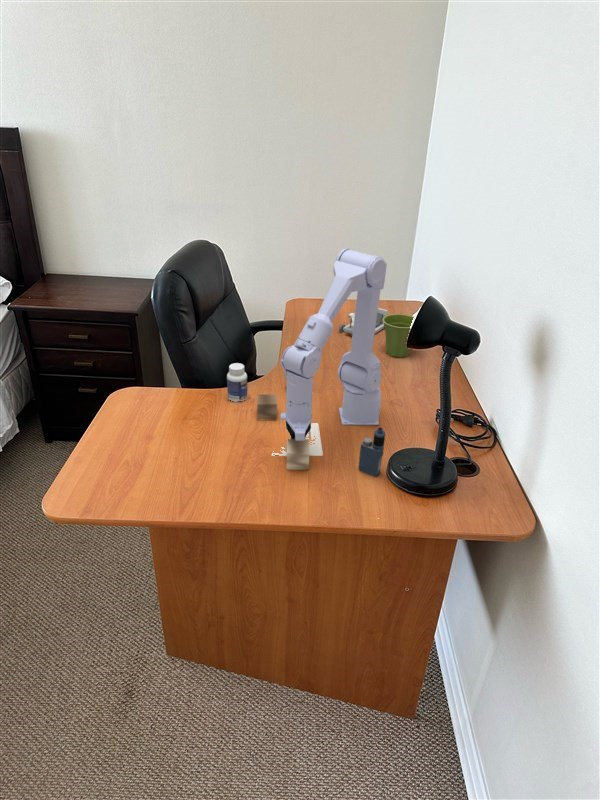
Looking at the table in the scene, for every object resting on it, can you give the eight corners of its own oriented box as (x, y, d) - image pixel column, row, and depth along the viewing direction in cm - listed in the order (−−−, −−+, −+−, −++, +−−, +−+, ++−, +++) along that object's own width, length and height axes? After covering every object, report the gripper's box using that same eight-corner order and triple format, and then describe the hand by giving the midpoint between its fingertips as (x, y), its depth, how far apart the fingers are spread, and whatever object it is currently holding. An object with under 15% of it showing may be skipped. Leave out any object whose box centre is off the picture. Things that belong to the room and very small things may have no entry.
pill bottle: (244, 404, 150) (243, 372, 145) (225, 401, 151) (223, 369, 146) (249, 394, 155) (249, 363, 150) (231, 392, 156) (230, 360, 151)
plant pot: (421, 351, 182) (426, 318, 177) (407, 364, 174) (411, 330, 168) (388, 342, 188) (392, 310, 182) (372, 354, 179) (376, 321, 173)
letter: (318, 423, 143) (318, 423, 143) (322, 456, 131) (322, 455, 131) (271, 423, 142) (271, 423, 142) (271, 456, 130) (271, 455, 130)
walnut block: (276, 410, 148) (276, 394, 145) (276, 421, 144) (277, 404, 141) (257, 410, 148) (257, 394, 145) (257, 421, 143) (257, 404, 141)
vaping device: (377, 478, 124) (383, 433, 118) (356, 470, 126) (360, 425, 120) (382, 472, 126) (388, 428, 120) (361, 464, 128) (366, 420, 122)
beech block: (308, 455, 130) (309, 439, 127) (308, 470, 126) (309, 453, 123) (286, 455, 130) (287, 438, 127) (286, 470, 126) (286, 453, 123)
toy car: (366, 317, 181) (336, 308, 187) (363, 345, 186) (334, 335, 192) (392, 302, 194) (363, 294, 200) (389, 328, 199) (361, 320, 205)
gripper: (280, 382, 129) (279, 431, 136) (281, 415, 116) (280, 468, 123) (310, 382, 129) (308, 431, 136) (315, 415, 117) (312, 467, 123)
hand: (297, 448), depth 130 cm, fingers closed, pressing on beech block
